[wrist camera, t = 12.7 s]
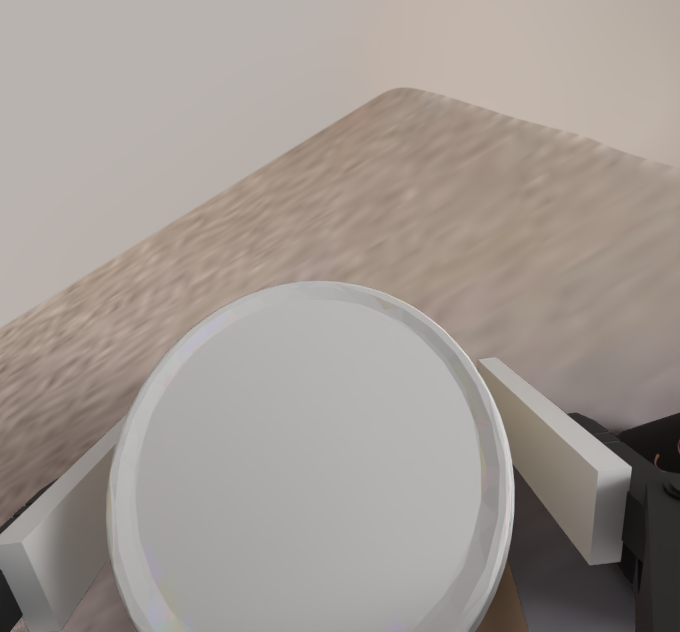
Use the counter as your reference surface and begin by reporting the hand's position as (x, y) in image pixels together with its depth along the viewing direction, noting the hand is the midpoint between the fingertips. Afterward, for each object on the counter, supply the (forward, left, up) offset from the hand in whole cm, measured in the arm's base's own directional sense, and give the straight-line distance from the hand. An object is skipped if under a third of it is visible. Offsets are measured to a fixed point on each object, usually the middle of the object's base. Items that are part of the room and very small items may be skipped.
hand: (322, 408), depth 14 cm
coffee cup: (0, +2, -6) cm, 6 cm away
